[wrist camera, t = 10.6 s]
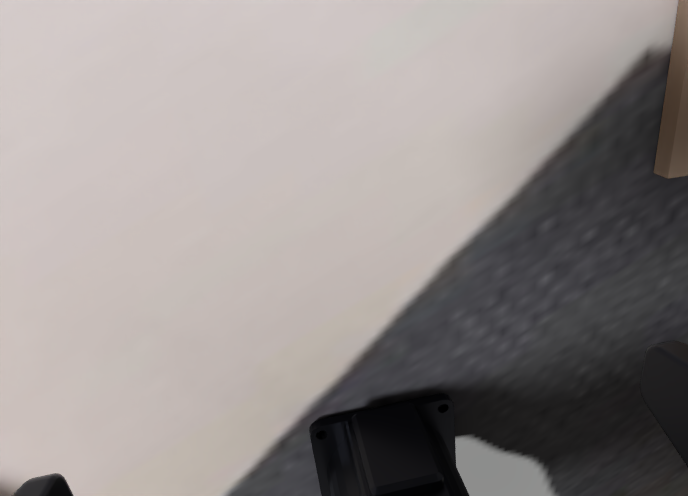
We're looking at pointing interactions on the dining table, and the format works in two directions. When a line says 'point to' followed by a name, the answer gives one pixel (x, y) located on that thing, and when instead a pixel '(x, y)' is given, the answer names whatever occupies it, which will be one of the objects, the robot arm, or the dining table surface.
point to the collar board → (675, 105)
